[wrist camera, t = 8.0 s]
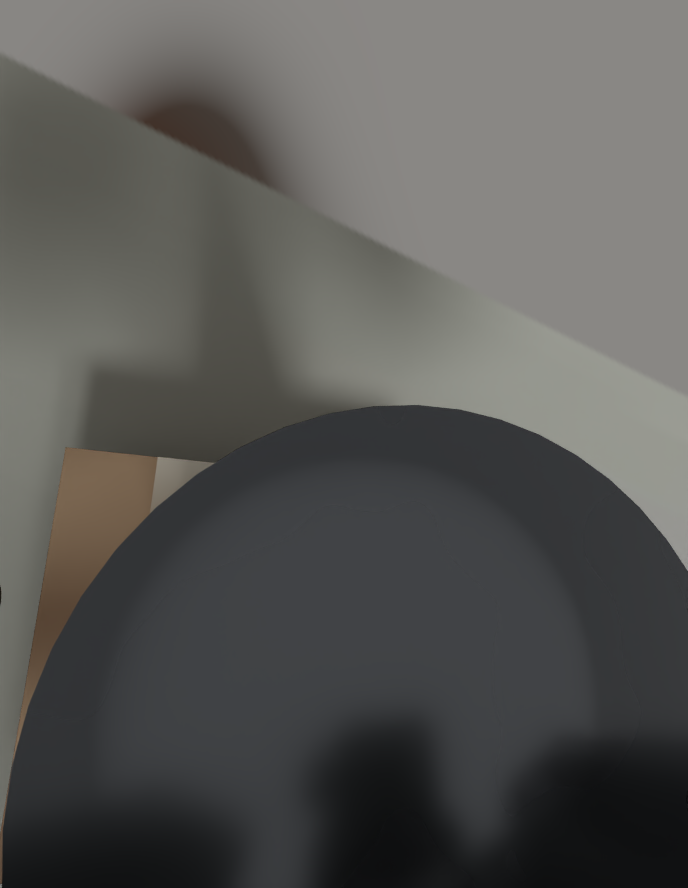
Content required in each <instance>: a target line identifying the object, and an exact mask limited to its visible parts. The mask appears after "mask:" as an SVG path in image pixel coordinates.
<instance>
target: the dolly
mask: <svg viewBox="0 0 688 888" xmlns="http://www.w3.org/2000/svg"><path fill="white" fill-rule="evenodd" d="M213 464H214V463H210V462H201V461H192V460H183V459H173V458H164V457H151V456H142V455H132V454H123V453H114V452H104V451H95V450H86V449H77V448H67V447H66V448H65V454H64V460H63V466H62V472H61V478H60V484H59V490H58V496H57V502H56V508H55V513H54V519H53V525H52V531H51V537H50V543H49V549H48V555H47V561H46V567H45V572H44V578H43V584H42V590H41V596H40V602H39V608H38V614H37V620H36V626H35V632H34V637H33V643H32V649H31V655H30V661H29V667H28V673H27V679H26V685H25V691H24V696H23V702H22V708H21V714H20V720H19V726H18V732H17V738H16V744H15V750H14V756H15V753H16V749H17V745H18V742H19V738H20V734H21V731H22V727H23V723H24V720H25V716H26V713H27V709H28V705H29V703H30V700H31V698H32V696H33V693H34V691H35V688H36V686H37V683H38V681H39V679H40V676H41V674H42V671H43V669H44V666H45V664H46V662H47V659H48V657H49V654H50V652H51V650H52V647H53V646H54V644H55V642H56V640H57V638H58V637H59V635H60V633H61V631H62V630H63V628H64V626H65V624H66V623H67V621H68V619H69V617H70V615H71V614H72V612H73V610H74V608H75V607H76V605H77V603H78V601H79V600H80V598H81V596H82V595H83V593H84V592H85V590H86V589H87V588H88V586H89V585H90V584H91V582H92V581H93V580H94V578H95V577H96V576H97V574H98V573H99V572H100V570H101V569H102V568H103V566H104V565H105V563H106V562H107V561H108V559H109V558H110V557H111V555H112V554H113V553H114V551H115V550H116V549H117V548H118V547H119V546H120V544H121V543H122V542H123V541H124V540H125V539H126V538H127V537H128V536H129V535H130V534H131V533H132V532H133V531H134V530H135V529H136V528H137V527H138V526H139V525H140V523H141V522H142V521H143V520H144V519H145V518H146V517H147V516H148V515H149V514H150V513H151V512H152V511H153V510H154V509H155V508H156V507H157V506H158V505H160V504H161V503H162V502H163V501H165V500H166V499H167V498H168V497H169V496H171V495H172V494H173V493H174V492H176V491H177V490H178V489H179V488H181V487H182V486H183V485H184V484H185V483H187V482H188V481H189V480H190V479H192V478H193V477H194V476H195V475H197V474H198V473H200V472H201V471H203V470H205V469H206V468H208V467H209V466H211V465H213ZM14 756H13V760H14ZM12 764H13V761H12ZM11 768H12V767H11ZM10 775H11V773H10ZM9 782H10V779H9ZM8 789H9V785H8ZM7 796H8V791H7ZM6 803H7V797H6ZM6 803H5V809H4V815H3V820H2V826H1V832H0V884H2V845H3V825H4V818H5V811H6Z"/></svg>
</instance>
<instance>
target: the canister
mask: <svg viewBox="0 0 688 888" xmlns="http://www.w3.org/2000/svg"><path fill="white" fill-rule="evenodd" d="M2 888H688V571H687V569H686V568H685V566H684V565H683V563H682V562H681V560H680V559H679V557H678V556H677V554H676V553H675V551H674V550H673V548H672V547H671V545H670V544H669V542H668V541H667V539H666V538H665V537H664V536H663V535H662V534H661V532H660V531H659V530H658V529H657V528H656V526H655V525H654V524H653V523H652V522H651V521H650V519H649V518H648V517H647V516H646V515H645V513H644V512H643V511H642V510H641V509H640V507H638V506H637V505H636V504H635V503H634V502H633V501H632V500H631V499H630V498H629V497H628V496H627V495H626V494H625V493H623V492H622V491H621V490H620V489H619V488H618V487H617V486H616V485H615V484H614V483H613V482H612V481H611V480H610V479H608V478H607V477H606V476H604V475H603V474H601V473H600V472H599V471H597V470H596V469H595V468H593V467H592V466H590V465H589V464H588V463H586V462H585V461H584V460H582V459H581V458H579V457H578V456H577V455H575V454H573V453H572V452H570V451H568V450H566V449H564V448H562V447H561V446H559V445H557V444H555V443H553V442H552V441H550V440H548V439H546V438H544V437H542V436H541V435H539V434H536V433H533V432H531V431H528V430H526V429H523V428H521V427H518V426H516V425H513V424H510V423H508V422H505V421H503V420H500V419H496V418H492V417H488V416H484V415H479V414H475V413H471V412H467V411H463V410H458V409H449V408H439V407H430V406H421V405H406V406H373V407H367V408H361V409H355V410H349V411H343V412H336V413H330V414H327V415H323V416H320V417H317V418H313V419H310V420H307V421H304V422H300V423H297V424H294V425H290V426H287V427H284V428H282V429H280V430H277V431H275V432H273V433H271V434H269V435H266V436H264V437H262V438H260V439H258V440H255V441H253V442H251V443H249V444H247V445H244V446H242V447H240V448H238V449H237V450H235V451H233V452H232V453H230V454H229V455H227V456H225V457H224V458H222V459H221V460H219V461H217V462H216V463H214V464H213V465H211V466H209V467H208V468H206V469H205V470H203V471H201V472H200V473H198V474H197V475H195V476H194V477H193V478H192V479H190V480H189V481H188V482H187V483H185V484H184V485H183V486H182V487H181V488H179V489H178V490H177V491H176V492H174V493H173V494H172V495H171V496H169V497H168V498H167V499H166V500H165V501H163V502H162V503H161V504H160V505H158V506H157V507H156V508H155V509H154V510H153V511H152V512H151V513H150V514H149V515H148V516H147V517H146V518H145V519H144V520H143V521H142V522H141V523H140V525H139V526H138V527H137V528H136V529H135V530H134V531H133V532H132V533H131V534H130V535H129V536H128V537H127V538H126V539H125V540H124V541H123V542H122V543H121V544H120V546H119V547H118V548H117V549H116V550H115V551H114V553H113V554H112V555H111V557H110V558H109V559H108V561H107V562H106V563H105V565H104V566H103V568H102V569H101V570H100V572H99V573H98V574H97V576H96V577H95V578H94V580H93V581H92V582H91V584H90V585H89V586H88V588H87V589H86V590H85V592H84V593H83V595H82V596H81V598H80V600H79V601H78V603H77V605H76V607H75V608H74V610H73V612H72V614H71V615H70V617H69V619H68V621H67V623H66V624H65V626H64V628H63V630H62V631H61V633H60V635H59V637H58V638H57V640H56V642H55V644H54V646H53V647H52V650H51V652H50V654H49V657H48V659H47V662H46V664H45V666H44V669H43V671H42V674H41V676H40V679H39V681H38V683H37V686H36V688H35V691H34V693H33V696H32V698H31V700H30V703H29V705H28V709H27V713H26V716H25V720H24V723H23V727H22V731H21V734H20V738H19V742H18V745H17V749H16V753H15V756H14V760H13V764H12V768H11V775H10V782H9V789H8V796H7V803H6V811H5V818H4V825H3V845H2Z"/></svg>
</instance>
